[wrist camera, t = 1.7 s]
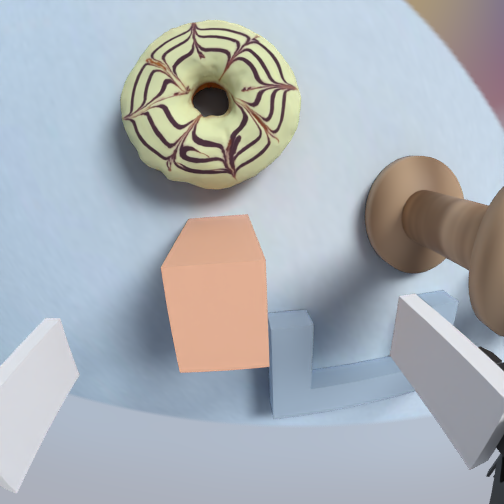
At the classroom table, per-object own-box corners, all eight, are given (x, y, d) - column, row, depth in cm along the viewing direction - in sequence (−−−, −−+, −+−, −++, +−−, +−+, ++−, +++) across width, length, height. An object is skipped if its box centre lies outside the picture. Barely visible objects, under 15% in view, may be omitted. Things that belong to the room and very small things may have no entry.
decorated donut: (235, 213, 22) (237, 224, 18) (106, 134, 20) (84, 131, 16) (319, 90, 20) (336, 79, 16) (190, 14, 17) (184, -10, 14)
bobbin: (362, 273, 24) (457, 363, 12) (364, 153, 21) (488, 160, 9) (450, 263, 24) (552, 325, 12) (457, 159, 22) (577, 177, 10)
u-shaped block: (269, 400, 27) (273, 419, 24) (266, 313, 24) (271, 329, 22) (425, 370, 28) (436, 384, 25) (442, 290, 25) (458, 301, 23)
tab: (196, 287, 23) (179, 372, 13) (188, 218, 22) (160, 267, 12) (251, 283, 23) (269, 366, 14) (247, 214, 22) (265, 259, 12)
